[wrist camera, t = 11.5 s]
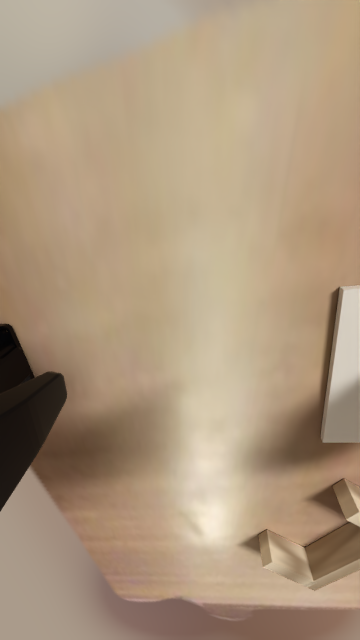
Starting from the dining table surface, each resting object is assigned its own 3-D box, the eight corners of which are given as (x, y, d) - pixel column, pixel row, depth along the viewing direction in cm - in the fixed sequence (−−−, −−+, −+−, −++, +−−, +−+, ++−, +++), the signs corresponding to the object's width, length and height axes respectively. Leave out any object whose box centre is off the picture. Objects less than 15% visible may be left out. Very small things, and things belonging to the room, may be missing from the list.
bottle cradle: (258, 534, 31) (262, 567, 29) (343, 478, 26) (359, 511, 23) (305, 557, 32) (314, 590, 30) (397, 507, 27) (418, 543, 24)
